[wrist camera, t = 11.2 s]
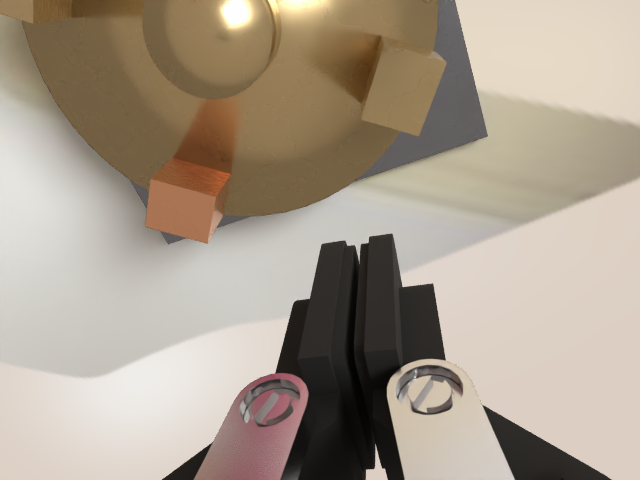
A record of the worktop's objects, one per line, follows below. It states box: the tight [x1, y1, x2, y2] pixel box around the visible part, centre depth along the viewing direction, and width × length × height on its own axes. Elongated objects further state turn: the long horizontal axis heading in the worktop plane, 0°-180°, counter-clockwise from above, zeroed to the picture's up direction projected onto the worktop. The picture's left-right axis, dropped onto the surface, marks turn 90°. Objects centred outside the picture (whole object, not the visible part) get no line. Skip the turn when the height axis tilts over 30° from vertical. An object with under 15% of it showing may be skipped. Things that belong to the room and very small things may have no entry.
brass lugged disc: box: [0, 0, 447, 244], centre depth 25 cm, size 22×22×6 cm
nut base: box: [130, 0, 488, 244], centre depth 29 cm, size 24×24×3 cm
